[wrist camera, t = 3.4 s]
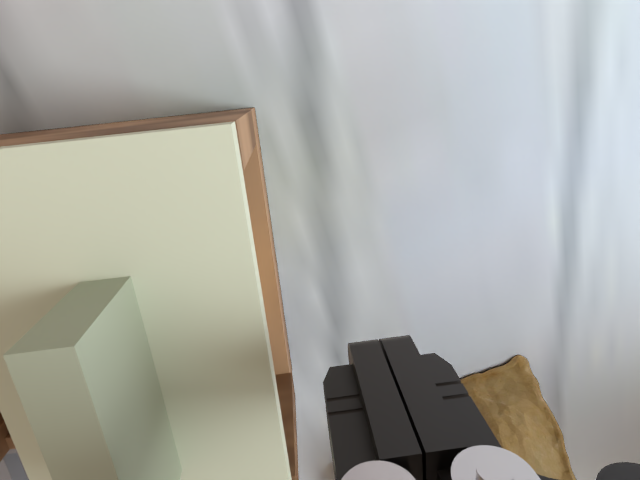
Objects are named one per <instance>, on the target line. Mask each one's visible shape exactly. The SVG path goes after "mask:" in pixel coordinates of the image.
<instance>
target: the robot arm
mask: <svg viewBox="0 0 640 480" xmlns="http://www.w3.org/2000/svg"><path fill="white" fill-rule="evenodd" d="M348 356H349V365H343V366H335V367H330V368H329V370H328V373H327V375H326V377H325V379H324V382H323V385H324V394H325V403H326V412H327V421H328V429H329V437H330V445H331V452H332V459H333V466H334V474H335V480H559V479H553V478H548V477H545V476H542V475H539V474H536V472H535V471H534V470H533V469H532V467H531V466H530V465H529V464H528V463H527V462H526V461H525V460H523V459H522V458H521V457H519V456H518V455H516V454H514V453H512V452H511V451H508V450H506V449H503V448H502V447H501V445H500V444H499V442H498V440H497V439H496V437H495V435H494V434H493V432H492V431H491V429H490V427H489V426H488V424H487V422H486V421H485V419H484V418H483V416H482V414H481V413H480V411H479V409H478V408H477V406H476V405H475V403H474V401H473V400H472V398H471V396H469V394H468V392H467V390H466V388H465V387H464V385H463V383H461V380H460V378H459V377H458V375H457V374H456V372H455V370H454V369H453V367H452V365H451V364H449V363H448V362H446V361H445V360H444V359H442V358H441V357H439V356H438V355H437V354H435V353H432V354H424V355H420V354H419V352H418V350H417V348H416V346H415V344H414V342H413V340H412V338H411V337H410V336H409V335H407V336H399V337H391V338H384V339H379V341H378V340H370V341H362V342H354V343H348ZM596 480H640V464H636V463H628V462H622V463H614V464H610V465H608V466H606V467H604V468H603V469H601V471H600V472H599V473H598V475H597V478H596Z"/></svg>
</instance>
